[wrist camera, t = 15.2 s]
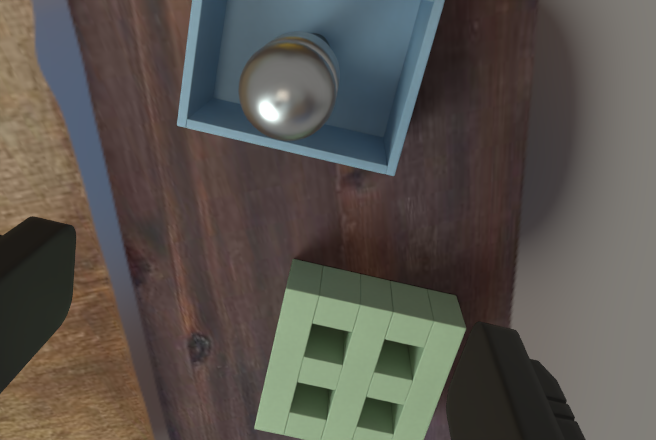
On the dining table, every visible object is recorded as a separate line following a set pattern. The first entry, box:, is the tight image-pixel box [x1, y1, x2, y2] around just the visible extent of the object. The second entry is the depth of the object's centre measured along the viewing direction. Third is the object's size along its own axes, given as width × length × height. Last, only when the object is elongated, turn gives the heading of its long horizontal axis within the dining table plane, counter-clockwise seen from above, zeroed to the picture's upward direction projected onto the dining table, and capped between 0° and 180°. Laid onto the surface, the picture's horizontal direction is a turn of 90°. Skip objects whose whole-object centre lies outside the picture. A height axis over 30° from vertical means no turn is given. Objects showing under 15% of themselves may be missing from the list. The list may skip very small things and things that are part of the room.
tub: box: [177, 0, 445, 176], centre depth 38 cm, size 14×11×8 cm
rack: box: [254, 259, 466, 440], centre depth 49 cm, size 14×14×5 cm
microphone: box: [238, 31, 340, 141], centre depth 32 cm, size 4×4×18 cm
